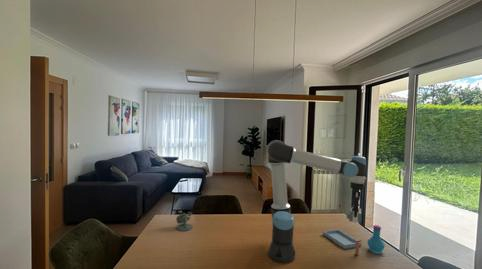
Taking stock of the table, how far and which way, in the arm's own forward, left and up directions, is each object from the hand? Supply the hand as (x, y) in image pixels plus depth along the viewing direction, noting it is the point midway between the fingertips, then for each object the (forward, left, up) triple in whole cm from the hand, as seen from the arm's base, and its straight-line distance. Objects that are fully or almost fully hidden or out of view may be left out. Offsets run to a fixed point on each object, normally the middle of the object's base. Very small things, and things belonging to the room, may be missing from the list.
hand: (355, 218), depth 145 cm
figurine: (-93, +57, -20) cm, 111 cm away
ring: (0, 0, 0) cm, 0 cm away
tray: (+3, +13, -20) cm, 24 cm away
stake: (-1, -4, -20) cm, 20 cm away
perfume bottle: (+14, -3, -20) cm, 25 cm away
